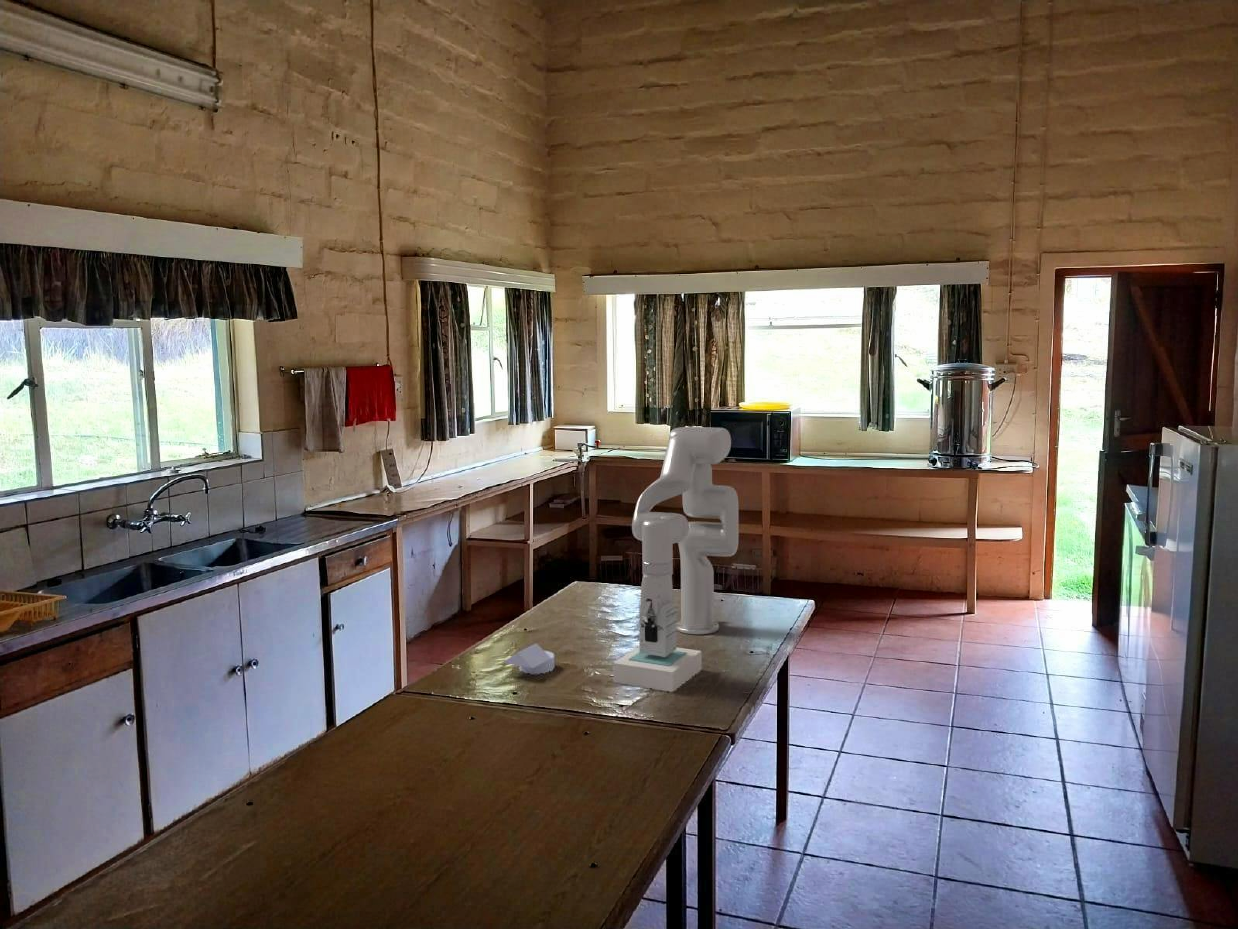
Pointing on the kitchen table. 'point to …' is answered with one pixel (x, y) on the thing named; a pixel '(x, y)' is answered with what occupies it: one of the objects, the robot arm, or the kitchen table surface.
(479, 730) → the kitchen table surface
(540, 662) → the wedge on round base
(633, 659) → the stand
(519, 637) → the kitchen table surface
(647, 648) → the supplement box
